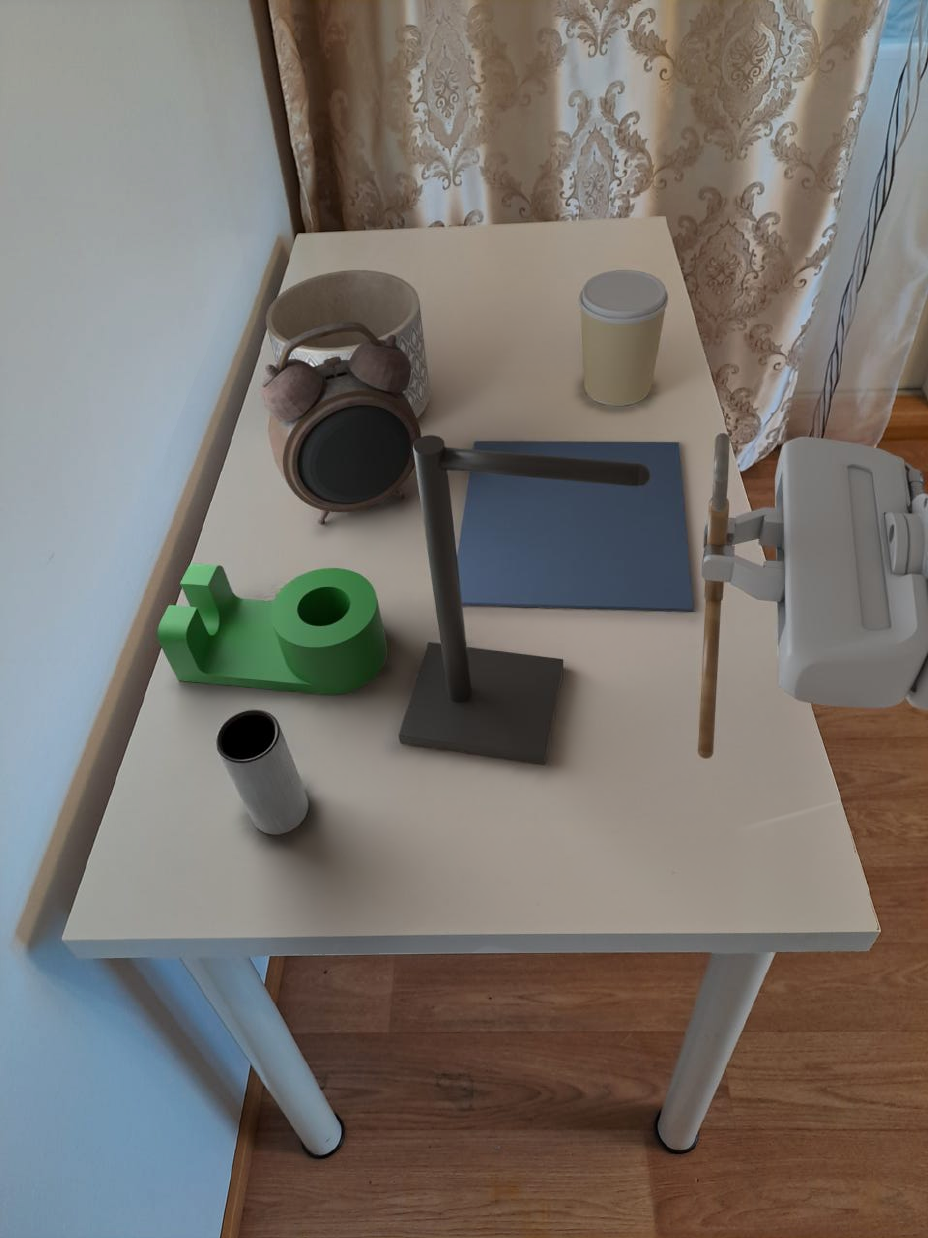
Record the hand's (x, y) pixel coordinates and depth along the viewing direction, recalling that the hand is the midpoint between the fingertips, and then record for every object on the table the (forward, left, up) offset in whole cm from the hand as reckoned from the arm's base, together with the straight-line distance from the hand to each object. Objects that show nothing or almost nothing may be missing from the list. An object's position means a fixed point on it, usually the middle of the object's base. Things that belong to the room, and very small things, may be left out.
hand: (703, 547), depth 57 cm
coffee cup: (+4, -48, -21) cm, 53 cm away
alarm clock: (+30, -27, -21) cm, 46 cm away
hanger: (-2, 0, -11) cm, 11 cm away
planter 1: (+30, +9, -21) cm, 38 cm away
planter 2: (+33, -44, -21) cm, 59 cm away
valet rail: (+12, -2, -21) cm, 24 cm away
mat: (+8, -25, -21) cm, 34 cm away
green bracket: (+33, -7, -21) cm, 40 cm away
